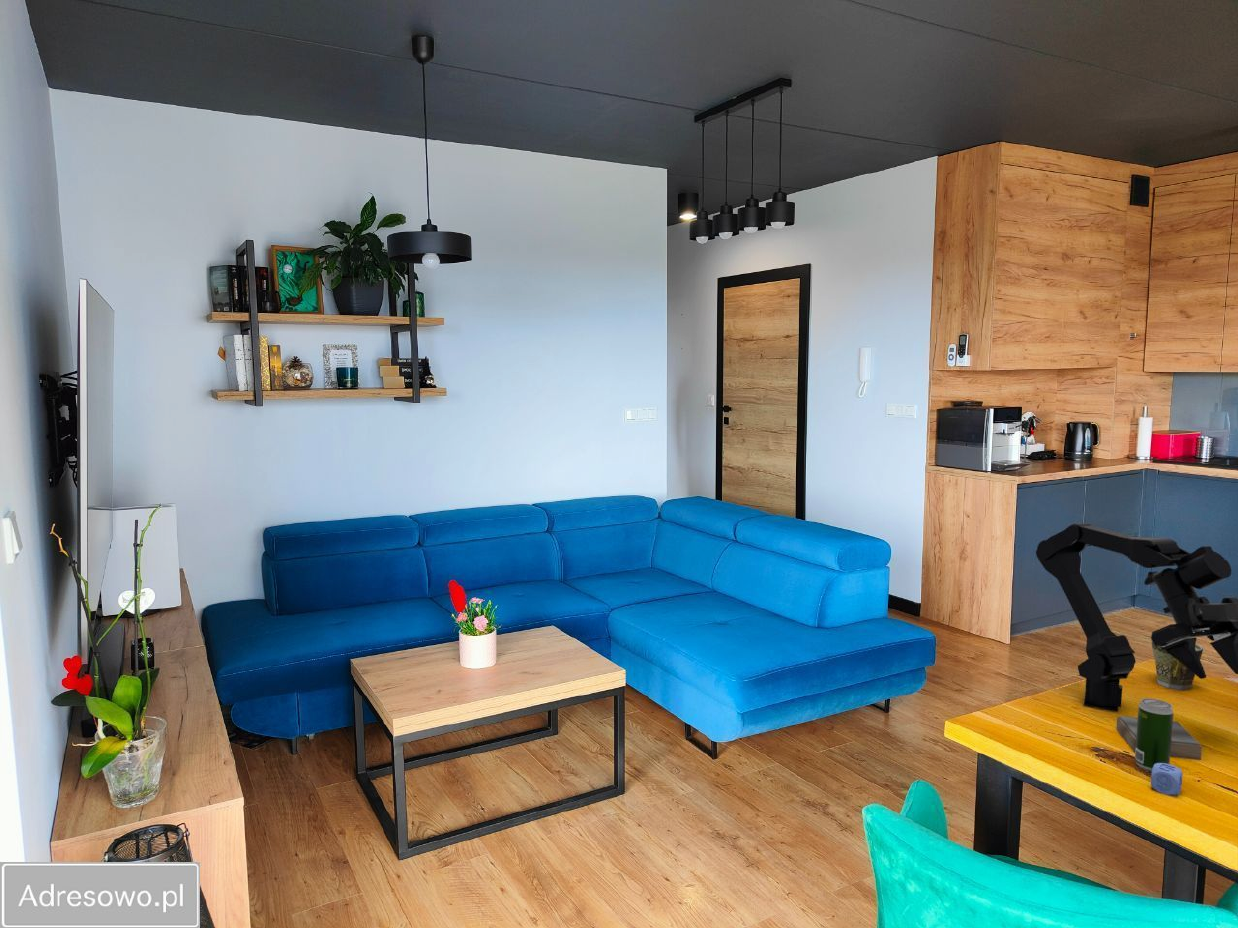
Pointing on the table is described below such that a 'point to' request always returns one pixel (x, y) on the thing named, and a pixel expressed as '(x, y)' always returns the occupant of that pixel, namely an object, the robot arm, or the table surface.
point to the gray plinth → (1180, 741)
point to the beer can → (1153, 733)
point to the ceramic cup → (1173, 669)
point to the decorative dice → (1166, 779)
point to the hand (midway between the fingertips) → (1221, 675)
